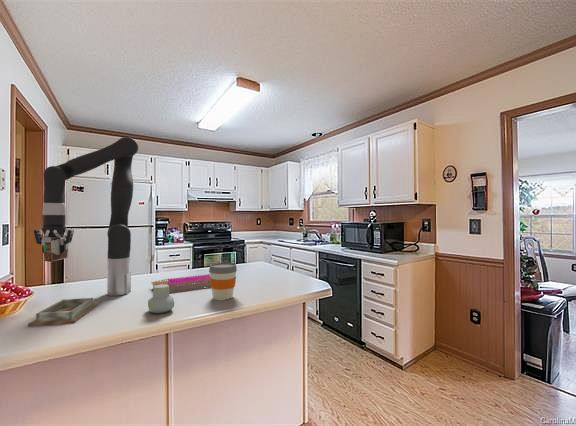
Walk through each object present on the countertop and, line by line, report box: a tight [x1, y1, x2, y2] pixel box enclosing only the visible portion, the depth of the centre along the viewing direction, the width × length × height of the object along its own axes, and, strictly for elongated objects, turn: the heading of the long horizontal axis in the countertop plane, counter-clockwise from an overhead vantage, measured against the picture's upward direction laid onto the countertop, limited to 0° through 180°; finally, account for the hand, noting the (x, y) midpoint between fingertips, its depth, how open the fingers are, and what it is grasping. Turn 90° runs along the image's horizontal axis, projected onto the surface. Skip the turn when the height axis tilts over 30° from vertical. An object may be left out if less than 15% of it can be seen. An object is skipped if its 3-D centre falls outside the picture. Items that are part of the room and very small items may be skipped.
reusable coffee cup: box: [208, 262, 237, 301], centre depth 132 cm, size 13×13×15 cm
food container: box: [41, 234, 70, 263], centre depth 120 cm, size 12×6×10 cm, turn 6°
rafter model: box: [150, 273, 211, 294], centre depth 150 cm, size 35×14×6 cm, turn 122°
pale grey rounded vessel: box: [147, 284, 175, 314], centre depth 113 cm, size 11×8×10 cm
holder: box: [27, 297, 100, 327], centre depth 109 cm, size 14×20×4 cm
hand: (54, 253), depth 121 cm, fingers closed on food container, 5 cm apart
